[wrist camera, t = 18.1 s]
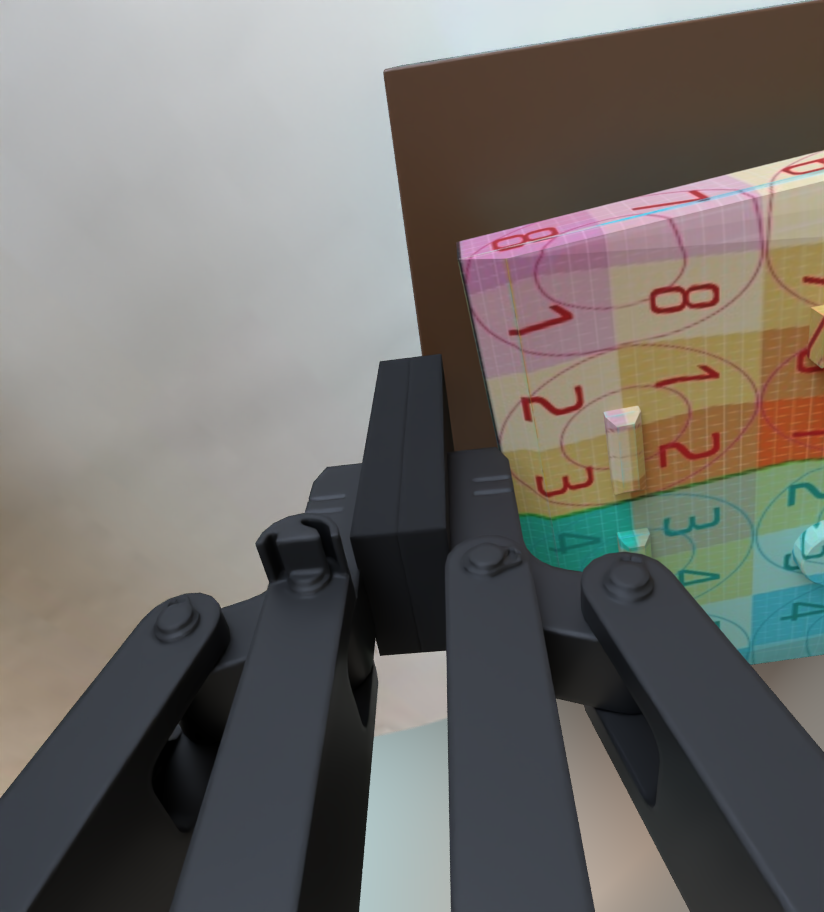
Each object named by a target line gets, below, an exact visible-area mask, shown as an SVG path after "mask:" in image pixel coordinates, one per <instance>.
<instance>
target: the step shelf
mask: <svg viewBox="0 0 824 912" xmlns="http://www.w3.org/2000/svg"><path fill="white" fill-rule="evenodd" d="M383 74H384V81H385V89H386V96H387V103H388V110H389V118H390V125H391V132H392V140H393V147H394V154H395V161H396V169H397V176H398V183H399V191H400V198H401V205H402V212H403V220H404V227H405V234H406V242H407V249H408V256H409V263H410V271H411V278H412V285H413V293H414V300H415V307H416V314H417V322H418V329H419V336H420V344H421V351H422V356H428V355H436V354H442V361H443V369H444V376H445V384H446V391H447V399H448V406H449V414H450V422H451V429H452V437H453V444H454V451H462V450H471V449H480V448H489V447H497V448H498V445H497V440H496V436H495V431H494V426H493V422H492V417H491V412H490V408H489V403H488V399H487V394H486V389H485V385H484V380H483V375H482V371H481V366H480V361H479V357H478V352H477V348H476V343H475V338H474V334H473V329H472V324H471V320H470V315H469V310H468V306H467V301H466V296H465V292H464V287H463V283H462V278H461V273H460V269H459V264H458V259H457V247H456V242H459V241H463V240H467V239H471V238H475V237H479V236H483V235H487V234H491V233H495V232H499V231H503V230H507V229H511V228H515V227H519V226H523V225H527V224H531V223H535V222H539V221H543V220H547V219H551V218H555V217H559V216H563V215H567V214H571V213H575V212H579V211H583V210H587V209H591V208H595V207H599V206H603V205H607V204H611V203H615V202H619V201H623V200H627V199H631V198H635V197H639V196H643V195H647V194H651V193H655V192H659V191H663V190H667V189H671V188H675V187H679V186H683V185H687V184H691V183H695V182H699V181H703V180H707V179H711V178H715V177H719V176H723V175H727V174H731V173H735V172H739V171H743V170H747V169H751V168H755V167H759V166H763V165H767V164H771V163H775V162H779V161H783V160H787V159H791V158H795V157H799V156H803V155H807V154H811V153H815V152H819V151H823V150H824V0H807V1H801V2H794V3H788V4H782V5H776V6H769V7H763V8H757V9H751V10H744V11H738V12H732V13H726V14H719V15H713V16H707V17H701V18H694V19H688V20H682V21H676V22H669V23H663V24H657V25H651V26H645V27H638V28H632V29H626V30H620V31H613V32H607V33H601V34H595V35H588V36H582V37H576V38H570V39H563V40H557V41H551V42H545V43H538V44H532V45H526V46H520V47H513V48H507V49H501V50H495V51H488V52H482V53H476V54H470V55H463V56H457V57H451V58H445V59H438V60H432V61H426V62H420V63H414V64H407V65H401V66H397V67H392V68H388V69H385V70H384V72H383Z"/></svg>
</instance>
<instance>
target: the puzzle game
mask: <svg viewBox="0 0 824 912" xmlns="http://www.w3.org/2000/svg"><path fill="white" fill-rule="evenodd" d="M456 247H457V259H458V264H459V269H460V273H461V278H462V283H463V287H464V292H465V296H466V301H467V306H468V310H469V315H470V320H471V324H472V329H473V334H474V338H475V343H476V348H477V352H478V357H479V361H480V366H481V371H482V375H483V380H484V385H485V389H486V394H487V399H488V403H489V408H490V412H491V417H492V422H493V426H494V431H495V436H496V440H497V445H498V449H499V450H500V451H501V452H502V453H503V454H504V455H505V456H506V457H507V458H508V459H509V464H510V469H511V475H512V480H513V486H514V492H515V497H516V502H517V508H518V513H519V519H520V524H521V530H522V535H523V540H524V543H525V545H526V548H527V549H528V550H529V551H530V552H531V554H532V555H533V556H535V557H536V558H538V559H539V560H540V561H542V562H544V563H547V564H549V565H551V566H554V567H558V568H563V569H568V570H574V571H581V572H583V570H584V568H585V567H586V566H587V565H588V564H589V563H590V562H591V561H592V560H594V559H596V558H598V557H600V556H603V555H605V554H608V553H617V552H631V553H638V554H643V555H646V556H648V557H651V558H653V559H655V560H658V561H659V562H661V563H662V564H663V565H664V566H666V567H667V568H668V569H669V570H670V571H671V572H672V573H673V574H674V575H675V576H676V577H677V579H678V580H679V581H680V582H681V583H682V585H683V586H684V587H685V588H686V589H687V591H688V592H689V593H690V594H691V595H692V596H693V598H694V599H695V600H696V601H697V602H698V604H699V605H700V606H701V607H702V608H703V609H704V611H705V612H706V613H707V614H708V615H709V617H710V618H711V619H712V620H713V621H714V623H715V624H716V625H717V626H718V627H719V628H720V630H721V631H722V632H723V633H724V634H725V636H726V637H727V638H728V639H729V640H730V642H731V643H732V644H733V645H734V646H735V647H736V649H737V650H738V651H739V652H740V653H741V655H742V656H743V657H744V658H745V659H746V660H747V662H748V663H749V664H750V665H753V664H760V663H767V662H774V661H781V660H789V659H795V658H803V657H809V656H817V655H824V150H823V151H819V152H815V153H811V154H807V155H803V156H799V157H795V158H791V159H787V160H783V161H779V162H775V163H771V164H767V165H763V166H759V167H755V168H751V169H747V170H743V171H739V172H735V173H731V174H727V175H723V176H719V177H715V178H711V179H707V180H703V181H699V182H695V183H691V184H687V185H683V186H679V187H675V188H671V189H667V190H663V191H659V192H655V193H651V194H647V195H643V196H639V197H635V198H631V199H627V200H623V201H619V202H615V203H611V204H607V205H603V206H599V207H595V208H591V209H587V210H583V211H579V212H575V213H571V214H567V215H563V216H559V217H555V218H551V219H547V220H543V221H539V222H535V223H531V224H527V225H523V226H519V227H515V228H511V229H507V230H503V231H499V232H495V233H491V234H487V235H483V236H479V237H475V238H471V239H467V240H463V241H459V242H456Z"/></svg>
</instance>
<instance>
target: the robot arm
mask: <svg viewBox="0 0 824 912" xmlns="http://www.w3.org/2000/svg"><path fill="white" fill-rule="evenodd" d="M255 544H256V547H257V550H258V553H259V555H260V558H261V561H262V564H263V566H264V569H265V572H266V575H267V577H268V580H269V585H268V589H267V591H265V592H264V593H262V594H260V595H258V596H255V597H253V598H251V599H248V600H245V601H242V602H239V603H236V604H233V605H230V606H227V607H224V608H220V605H219V604H218V602H217V601H216V600H215V599H214V598H213V597H212V596H209V595H206V594H203V593H187V594H183V595H180V596H176V597H173V598H170V599H168V600H167V601H165V602H163V603H161V604H160V605H158V606H156V607H155V608H154V609H152V610H151V611H150V612H149V613H148V614H147V615H146V616H145V617H144V618H143V619H142V620H141V622H140V623H139V624H138V625H137V627H136V628H135V629H134V630H133V632H132V633H131V634H130V635H129V637H128V638H127V639H126V640H125V642H124V643H123V644H122V646H121V647H120V648H119V649H118V651H117V652H116V653H115V654H114V656H113V657H112V658H111V659H110V661H109V662H108V663H107V664H106V666H105V667H104V668H103V669H102V671H101V672H100V673H99V674H98V676H97V677H96V678H95V680H94V681H93V682H92V683H91V685H90V686H89V687H88V688H87V690H86V691H85V692H84V693H83V695H82V696H81V697H80V698H79V700H78V701H77V702H76V703H75V705H74V706H73V707H72V708H71V710H70V711H69V712H68V714H67V715H66V716H65V717H64V719H63V720H62V721H61V722H60V724H59V725H58V726H57V727H56V729H55V730H54V731H53V732H52V734H51V735H50V736H49V737H48V739H47V740H46V741H45V743H44V744H43V745H42V746H41V748H40V749H39V750H38V751H37V753H36V754H35V755H34V756H33V758H32V759H31V760H30V761H29V763H28V764H27V765H26V766H25V768H24V769H23V770H22V771H21V773H20V774H19V775H18V777H17V778H16V779H15V780H14V782H13V783H12V784H11V785H10V787H9V788H8V789H7V790H6V792H5V793H4V794H3V795H2V797H1V798H0V912H359V905H360V892H361V881H362V869H363V857H364V846H365V834H366V833H365V832H366V822H367V810H368V798H369V786H370V774H371V762H372V751H373V739H374V727H375V715H376V703H377V692H378V677H377V671H376V667H375V663H374V660H373V658H374V648H375V638H376V642H377V646H378V649H379V653H380V656H382V655H395V654H408V653H421V652H434V651H446V656H447V713H448V769H449V826H450V882H451V912H595V909H594V904H593V899H592V893H591V887H590V882H589V877H588V872H587V866H586V860H585V855H584V850H583V844H582V839H581V833H580V828H579V822H578V817H577V812H576V807H575V801H574V795H573V790H572V785H571V779H570V774H569V769H568V763H567V757H566V752H565V747H564V741H563V736H562V730H561V725H560V720H559V714H558V709H557V703H556V698H557V699H561V700H566V701H570V702H575V703H579V704H583V705H584V707H585V711H586V713H587V714H588V716H589V718H590V720H591V722H592V724H593V726H594V728H595V730H596V732H597V734H598V736H599V738H600V739H601V741H602V743H603V745H604V747H605V749H606V751H607V753H608V755H609V757H610V759H611V761H612V763H613V764H614V766H615V768H616V770H617V772H618V774H619V776H620V778H621V780H622V782H623V784H624V785H625V787H626V789H627V791H628V793H629V795H630V797H631V799H632V801H633V803H634V805H635V807H636V809H637V811H638V812H639V814H640V816H641V818H642V820H643V822H644V824H645V826H646V828H647V830H648V832H649V834H650V836H651V837H652V839H653V841H654V843H655V845H656V847H657V849H658V851H659V853H660V855H661V857H662V859H663V861H664V862H665V864H666V866H667V868H668V870H669V872H670V874H671V876H672V878H673V880H674V882H675V884H676V886H677V887H678V889H679V891H680V893H681V895H682V897H683V899H684V901H685V903H686V905H687V907H688V908H689V910H690V912H824V752H823V751H822V749H821V748H820V747H819V746H818V745H817V744H816V742H815V741H814V740H813V739H812V738H811V736H810V735H809V734H808V733H807V732H806V731H805V729H804V728H803V727H802V726H801V725H800V723H799V722H798V721H797V720H796V719H795V717H793V715H792V714H791V713H790V712H789V710H788V709H787V708H786V707H785V706H784V704H783V703H782V702H781V701H780V700H779V698H778V697H777V696H776V695H775V694H774V693H773V691H772V690H771V689H770V688H769V687H768V685H767V684H766V683H765V682H764V681H763V680H762V678H761V677H760V676H759V675H758V674H757V672H756V671H755V670H754V669H753V668H752V667H751V665H750V664H749V663H748V662H747V660H746V659H745V658H744V657H743V656H742V655H741V653H740V652H739V651H738V650H737V649H736V647H735V646H734V645H733V644H732V643H731V642H730V640H729V639H728V638H727V637H726V636H725V634H724V633H723V632H722V631H721V630H720V628H719V627H718V626H717V625H716V624H715V623H714V621H713V620H712V619H711V618H710V617H709V615H708V614H707V613H706V612H705V611H704V609H703V608H702V607H701V606H700V605H699V604H698V602H697V601H696V600H695V599H694V598H693V596H692V595H691V594H690V593H689V592H688V591H687V589H686V588H685V587H684V586H683V585H682V583H681V582H680V581H679V580H678V579H677V577H676V576H675V575H674V574H673V573H672V572H671V571H670V570H669V569H668V568H667V567H666V566H664V565H663V564H662V563H661V562H659V561H658V560H655V559H653V558H651V557H648V556H646V555H643V554H638V553H631V552H617V553H608V554H605V555H603V556H600V557H598V558H596V559H594V560H592V561H591V562H590V563H589V564H588V565H587V566H586V567H585V568H584V570H583V572H581V571H574V570H568V569H563V568H558V567H554V566H551V565H549V564H547V563H544V562H542V561H540V560H539V559H538V558H536V557H535V556H533V555H532V554H531V552H530V551H529V550H528V549H527V548H526V545H525V543H524V540H523V535H522V530H521V524H520V519H519V513H518V508H517V502H516V497H515V492H514V486H513V480H512V475H511V469H510V464H509V459H508V458H507V457H506V456H505V455H504V454H503V453H502V452H501V451H500V450H499V449H498V448H497V447H489V448H480V449H471V450H462V451H454V444H453V437H452V429H451V422H450V414H449V406H448V399H447V391H446V384H445V376H444V369H443V361H442V354H436V355H428V356H420V357H412V358H404V359H396V360H388V361H380V363H379V369H378V375H377V381H376V387H375V392H374V398H373V404H372V410H371V415H370V421H369V427H368V433H367V439H366V444H365V450H364V456H363V462H362V463H359V464H350V465H341V466H332V467H326V469H325V470H324V471H323V472H322V473H321V474H320V475H319V476H318V478H317V479H316V480H315V481H314V482H313V485H312V489H311V492H310V496H309V502H308V503H307V507H306V510H305V513H302V514H298V515H293V516H289V517H286V518H284V519H282V520H280V521H278V522H276V523H273V524H272V525H271V526H270V527H269V528H267V529H266V530H265V531H264V532H262V534H261V535H260V537H259V538H258V540H257V541H256V543H255Z"/></svg>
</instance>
